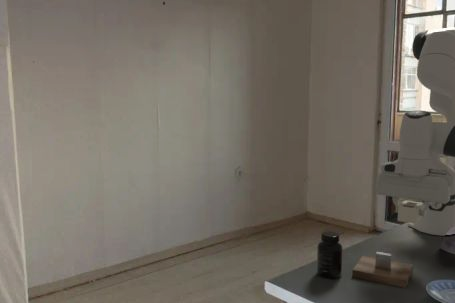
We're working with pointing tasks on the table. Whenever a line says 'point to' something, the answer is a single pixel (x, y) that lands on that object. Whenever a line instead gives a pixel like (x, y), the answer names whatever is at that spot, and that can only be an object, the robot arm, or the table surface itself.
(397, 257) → the table surface
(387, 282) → the board
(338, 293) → the table surface
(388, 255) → the tall grey block
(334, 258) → the supplement bottle
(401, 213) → the open rectangular brace
